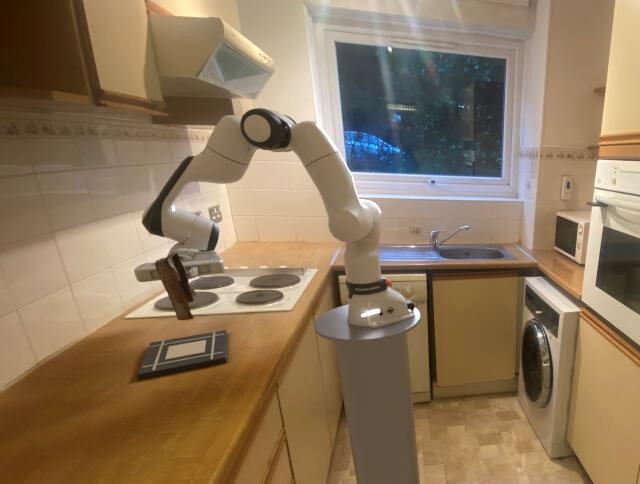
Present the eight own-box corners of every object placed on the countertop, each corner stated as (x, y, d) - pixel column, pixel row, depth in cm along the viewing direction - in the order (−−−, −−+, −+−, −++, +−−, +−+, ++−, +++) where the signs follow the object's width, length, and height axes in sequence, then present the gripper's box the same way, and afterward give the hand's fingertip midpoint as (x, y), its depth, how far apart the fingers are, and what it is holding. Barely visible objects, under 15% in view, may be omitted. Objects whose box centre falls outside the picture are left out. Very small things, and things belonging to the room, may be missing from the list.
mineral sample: (194, 319, 109) (170, 261, 102) (174, 323, 107) (149, 264, 101) (198, 298, 122) (178, 246, 116) (181, 301, 120) (160, 248, 114)
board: (227, 334, 129) (226, 329, 128) (226, 362, 113) (225, 356, 112) (151, 347, 120) (149, 341, 120) (139, 379, 105) (137, 373, 104)
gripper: (135, 257, 120) (125, 270, 110) (222, 249, 130) (220, 260, 119) (142, 278, 123) (133, 293, 112) (227, 269, 133) (226, 282, 122)
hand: (179, 276), depth 116 cm, fingers closed on mineral sample, 3 cm apart
